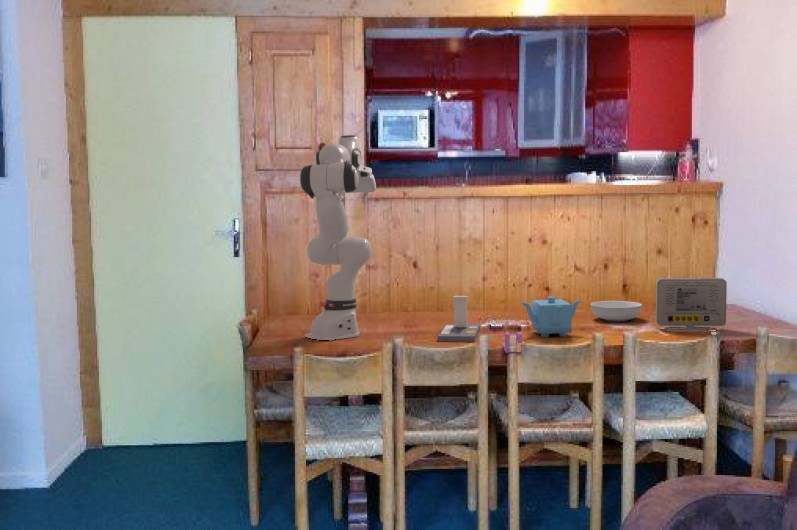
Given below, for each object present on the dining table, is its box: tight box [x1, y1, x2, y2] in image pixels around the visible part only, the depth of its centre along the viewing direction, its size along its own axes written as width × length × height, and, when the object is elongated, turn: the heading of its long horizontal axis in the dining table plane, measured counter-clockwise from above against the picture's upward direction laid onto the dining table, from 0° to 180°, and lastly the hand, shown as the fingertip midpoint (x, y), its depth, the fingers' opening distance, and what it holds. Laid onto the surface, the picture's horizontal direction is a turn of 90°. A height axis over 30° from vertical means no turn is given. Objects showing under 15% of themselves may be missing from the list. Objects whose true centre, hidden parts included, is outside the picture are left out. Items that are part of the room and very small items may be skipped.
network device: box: [655, 277, 728, 333], centre depth 320 cm, size 26×9×20 cm, turn 80°
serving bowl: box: [590, 300, 643, 323], centre depth 347 cm, size 21×21×7 cm
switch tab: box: [452, 295, 469, 327], centre depth 327 cm, size 3×6×12 cm, turn 80°
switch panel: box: [437, 323, 481, 343], centre depth 323 cm, size 26×14×2 cm, turn 170°
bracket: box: [502, 331, 523, 354], centre depth 294 cm, size 13×6×7 cm, turn 179°
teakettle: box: [519, 296, 584, 338], centre depth 317 cm, size 19×19×15 cm
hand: (354, 201), depth 362 cm, fingers open, 8 cm apart
